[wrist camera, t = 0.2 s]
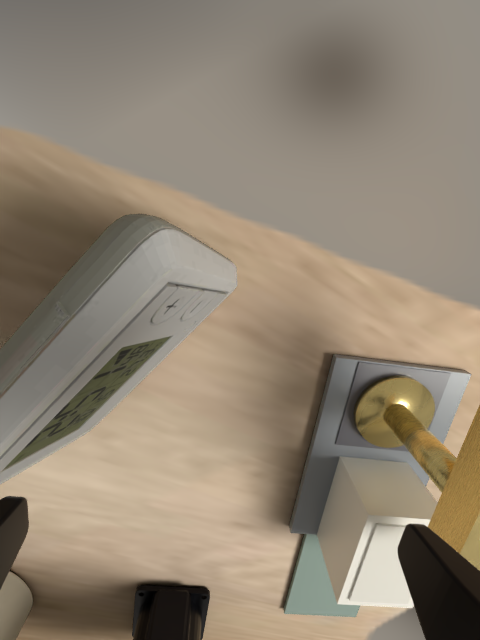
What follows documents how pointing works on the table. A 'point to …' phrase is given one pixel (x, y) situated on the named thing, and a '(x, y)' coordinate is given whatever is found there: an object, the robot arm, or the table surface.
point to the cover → (371, 529)
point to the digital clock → (103, 333)
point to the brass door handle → (428, 455)
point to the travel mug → (13, 606)
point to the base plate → (345, 439)
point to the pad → (313, 585)
